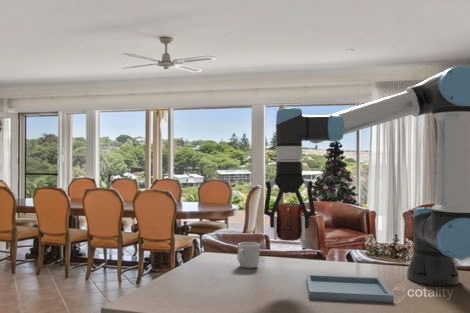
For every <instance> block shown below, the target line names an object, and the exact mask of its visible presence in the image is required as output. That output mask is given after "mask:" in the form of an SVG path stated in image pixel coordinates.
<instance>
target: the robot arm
mask: <svg viewBox="0 0 470 313" xmlns="http://www.w3.org/2000/svg"><path fill="white" fill-rule="evenodd" d="M426 114H431V117H433V118H434V119H435V120H436V121H437V147H436V148H437V149H436V150H437V151H436V152H437V153H436V154H437V155H436V156H437V157H436V158H437V160H436V163H437V164H436V202H435V204H433V206H432V207H416V208H415V209H414V211H413V217H412V220H413V221H412V222H413V227H412V229H413V233H412V236H413V238H412V240H413V241H412V246H413V247H412V248H413V249H412V251H413V252H412V256H411V259H410V262H409V264H408V268H407V271H406V278H407V279H408V280H410V281H411V282H413V283H414V282H415V283H417V284H418V283H419V284H422V285H423V284H424V285H428V286H433V287H435V286H437V287H453V286H457V285H459V284H460V274H459V272H458V268H457V265H456V262H455V260H454V259H457V260H462V259H467V258H470V66H469V65H455V66H452V67H451V66H450V67H448V68H446V69H444V70H443V71H442V72H438V73H437V74H434V75H432V76H430V77H428V78H426V79H425V80H423V81H422V82H419V83H418V84H415V85H412V86H408V87H405V90H404V91H403V92H399V93H397V94H394V95H390V96H387V97H383V98H380V99H377V100H374V101H371V102H367V103H363V104H361V105H358V106H354V107H350V108H347V109H344V110H342V111H338V112H335V113H331V114H323V115H322V114H321V115H319V114H317V115H315V114H313V115H311V114H310V115H306V114H303V111H302V109H301V108H299V107H283V108H279V109H278V110H277V111H276V117H275V118H276V119H275V122H276V123H275V138H276V140H275V141H276V145H275V151H276V152H275V155H276V156H275V157H276V158H275V159H276V160H277V162H276V164H275V165H276V168H275V169H276V170H275V171H276V175H275V179H274V180H267V181H266V183H265V185H266V186H265V187H266V196H265V203H264V209H263V214H264V215H266V216H269V227H270V229H273V240H274V241H277V240H278V239H277V238H278V237H277V215H276V210H277V207H278V205H279V203H281V202H280V201H281V200H282V197H283V194H288V193H291V194H295V195H296V198H297V201H298V204H300V206H301V208H302V214H303V216H301V221H302V233H301V240H302V241H306V229H309V227H310V217H312V216H315V215H316V211H315V204H314V196H313V184H314V182H313V181H312V180H305V179H304V178H303V163H302V160H303V142H304V141H305V142H306V141H308V142H310V143H313V144H318V143H319V144H320V143H322V142H326V141H327V142H328V141H329V142H334V141H335V142H337V141H341V140H343V138H344V135H348V134H351V133H355V132H358V131H361V130H365V129H368V128H371V127H375V126H377V125H381V124H384V123H387V122H388V123H389V122H392V121H395V120H398V119H402V118H406V117H409V116H412V117H414V118H415V117H418V116H419V117H420V116H423V115H426ZM303 184H304V187H305V188H306V189H307V190H306V191H307V198H308V206H309V211H308V209H307V207H306V204H305V201H304V200H303V197H302V194H301V192H300V189H301V187H302V186H303ZM274 185H276V187H277V188H278V189H279V191H278V193H277V195H276V198H275V201H274V203H273V206H272V209H271V210H270V202H271V196H272V189H273V188H274V187H275V186H274ZM275 215H276V216H275Z"/></svg>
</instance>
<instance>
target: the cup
mask: <svg viewBox="0 0 470 313" xmlns="http://www.w3.org/2000/svg"><path fill="white" fill-rule="evenodd" d="M260 252H261V243H259V242H255V241H242V242H238V243H237V256H236V257H237V262H238V264H239V266H240V267H241V268H245V269H254V268H256V267H258V265H259V261H260Z"/></svg>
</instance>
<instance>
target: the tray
mask: <svg viewBox="0 0 470 313" xmlns="http://www.w3.org/2000/svg"><path fill="white" fill-rule="evenodd" d="M306 286H307V292H308V298H309V300H323V301H325V300H326V301H327V300H328V301H345V302H362V303H363V302H364V303H365V302H367V303H387V304H395V303H394V300H395V299H394V297H395V296H394V294H393V293H392V292H391V290H390V289H389V287H387V285H386V284H385V283H384V281H383V280H382V279H381V278H380V277H373V276H372V277H371V276H370V277H369V276H351V275H350V276H349V275H331V274H330V275H326V274H324V275H323V274H306Z"/></svg>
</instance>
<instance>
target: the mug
mask: <svg viewBox="0 0 470 313" xmlns="http://www.w3.org/2000/svg"><path fill="white" fill-rule="evenodd" d="M302 214H303V210H302V208H301V206H300V203H299V202H298V203H295V202H279V205H278V207H277V210H276V212H275V215H276V216H277V238H278V239H279V240H280V241H287V242H289V241H290V242H291V241H298V240H300V239H302V216H303V215H302Z"/></svg>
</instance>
